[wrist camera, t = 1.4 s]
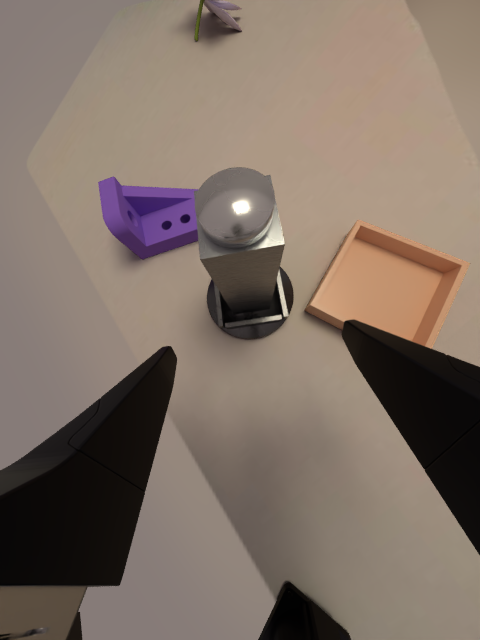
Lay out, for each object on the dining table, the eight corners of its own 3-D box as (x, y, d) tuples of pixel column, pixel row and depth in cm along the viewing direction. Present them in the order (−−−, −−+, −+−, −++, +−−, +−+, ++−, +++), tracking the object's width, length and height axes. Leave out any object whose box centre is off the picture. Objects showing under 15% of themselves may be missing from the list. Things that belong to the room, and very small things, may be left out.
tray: (404, 362, 20) (424, 363, 17) (304, 310, 22) (310, 304, 20) (445, 273, 21) (470, 263, 19) (347, 233, 23) (358, 219, 21)
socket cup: (300, 332, 22) (305, 329, 19) (212, 344, 22) (207, 343, 20) (283, 252, 24) (286, 241, 22) (205, 266, 25) (199, 257, 22)
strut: (269, 309, 22) (287, 230, 8) (233, 314, 22) (193, 248, 8) (263, 276, 23) (271, 155, 9) (229, 281, 23) (186, 173, 9)
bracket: (143, 260, 26) (104, 228, 20) (136, 223, 28) (98, 182, 21) (219, 235, 26) (205, 193, 19) (207, 199, 27) (191, 148, 21)
